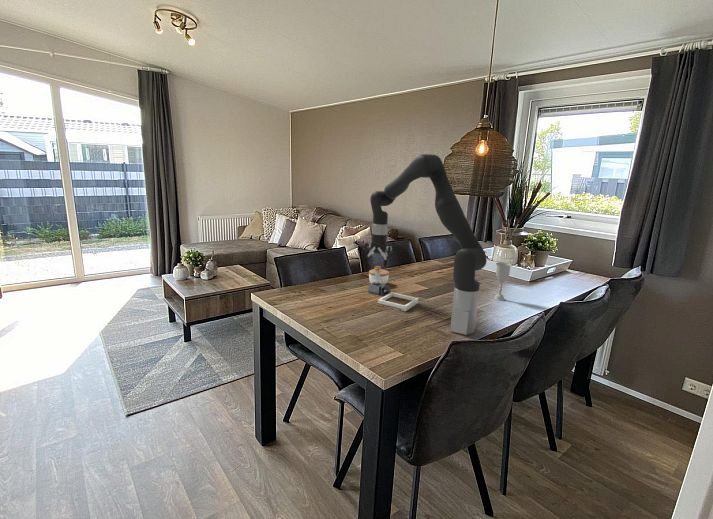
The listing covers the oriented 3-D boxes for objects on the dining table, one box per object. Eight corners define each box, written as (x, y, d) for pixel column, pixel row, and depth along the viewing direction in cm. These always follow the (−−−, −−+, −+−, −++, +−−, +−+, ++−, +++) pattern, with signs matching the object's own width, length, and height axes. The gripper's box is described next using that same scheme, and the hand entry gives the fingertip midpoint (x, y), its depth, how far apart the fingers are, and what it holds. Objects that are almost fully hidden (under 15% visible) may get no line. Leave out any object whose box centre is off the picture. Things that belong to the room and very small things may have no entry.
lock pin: (377, 293, 188) (379, 267, 185) (372, 291, 189) (373, 266, 186) (380, 291, 190) (382, 266, 187) (375, 290, 192) (376, 265, 189)
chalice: (506, 297, 191) (511, 263, 187) (507, 302, 185) (512, 266, 181) (491, 296, 193) (495, 261, 189) (491, 300, 187) (496, 265, 183)
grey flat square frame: (405, 311, 167) (405, 306, 167) (377, 305, 174) (377, 299, 174) (417, 303, 179) (418, 298, 178) (391, 297, 186) (391, 292, 185)
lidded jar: (366, 287, 200) (367, 270, 198) (370, 281, 210) (371, 265, 208) (386, 289, 198) (387, 272, 196) (389, 283, 208) (390, 267, 206)
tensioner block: (386, 299, 182) (386, 289, 181) (364, 294, 188) (365, 284, 187) (394, 294, 190) (395, 285, 189) (373, 289, 196) (374, 280, 195)
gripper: (362, 232, 183) (361, 264, 187) (389, 235, 176) (386, 269, 180) (370, 230, 190) (369, 261, 193) (396, 233, 182) (394, 266, 186)
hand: (377, 265), depth 187 cm, fingers open, 8 cm apart
